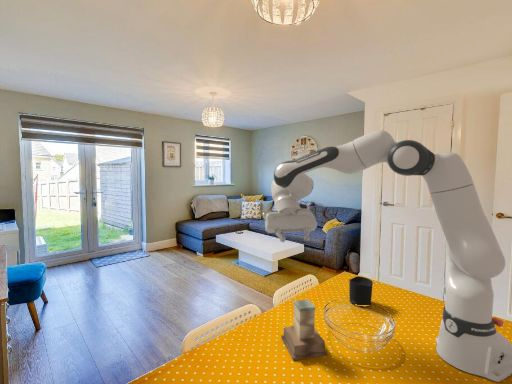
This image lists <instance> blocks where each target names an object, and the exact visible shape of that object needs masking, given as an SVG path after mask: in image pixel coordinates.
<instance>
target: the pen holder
mask: <svg viewBox="0 0 512 384" xmlns="http://www.w3.org/2000/svg"><path fill="white" fill-rule="evenodd" d="M348 280H349V286H348V287H349V289H348V292H349V302H350V303H351V304H352V305H353V304H357V305H370V306H371V304H372V298H373V297H372V296H373V295H372V294H373V284H374V282H373V280H371V279H370V278H368V277H364V276H360V275H359V276H354V277H352V278H349V279H348Z"/></svg>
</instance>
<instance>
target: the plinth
mask: <svg viewBox="0 0 512 384" xmlns="http://www.w3.org/2000/svg"><path fill="white" fill-rule="evenodd" d="M280 337H281V340H282V341H283V344H284V346H285V348H286V349H287V352H288V353H289V356H290V358H291V359H292V361H297V360H303V359H311V358H317V357H324V356H327V355H328V351H327V350H326V349H325V348H326V347H325V346H326V345H325V344H326V341H325V340H324V338H323V337H322V336H321V335H320V333H319V331H317V330H316V328H315V327H314V338H309V339H302V340H299V338H298V337H297V335H296V334H295V332H294V325H290V326H283V335H281V336H280Z"/></svg>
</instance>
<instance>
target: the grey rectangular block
mask: <svg viewBox="0 0 512 384" xmlns="http://www.w3.org/2000/svg"><path fill="white" fill-rule="evenodd" d="M315 315H316V306H315V305H314V304H313V303H312V302H311V301H310V299H300V300H293V326H294V332H295V334H296V335H297V337H298V338H299V340H302V339H309V338H314V328H315V319H316V318H315V317H316V316H315Z"/></svg>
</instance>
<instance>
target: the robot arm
mask: <svg viewBox="0 0 512 384" xmlns="http://www.w3.org/2000/svg"><path fill="white" fill-rule="evenodd" d="M380 163H381V164H382V163H386V164H387V165H388V167H389V169H390V170H391V171H392V172H394V173H396V174H397V175H401V176H404V177H406V176H407V177H409V176H410V177H412V176H421V177H422V178H423V179H424V181H425V182H426V183H425V184H426V186H427V187H428V191H429V194H430V197H431V200H432V204H433V206H434V210H435V214H436V216H437V219H438V221H439V224H440V225H441V229H442V232H443V234H444V237H445V239H446V240H445V276H446V277H445V279H446V283H445V284H446V285H445V286H446V288H445V305H444V307H443V308H442V309H443V310H442V319H441V321H440V327H439V333H438V336H436V337H435V342H436V348H435V350H436V353H437V354H438V356H439V357H440V358H441V359H442V360H444V361H445V362H446V363H447V364H449V365H451V366H452V367H454V368H456V369H459V370H461V371H463V372H466V373H468V374H472V375H474V376H480V377H483V378H485V379H487V380H490V381H492V382H493V381H494V382H497V383H500V382H502V381H503V380H505V379H507V378H509V377H510V376H512V375H511V374H512V343H511V341H510V340H509V339H508V338H506V337H505V336H503V335H502V334H501V333H500V332H499V331H497V329H496V326H497V327H499V328H501V327H503V326H504V321H503V320H502V319H499V318H497V317H495V316H494V317H493V308H494V297H495V296H494V295H495V294H494V290H493V285H492V279H493V278H495V277H497V276H500V274H502V272H504V270H505V267H506V259H505V256H504V253H503V251H502V249H501V246H500V244H499V242H498V240H497V237H496V234H495V232H494V231H493V229H492V226H491V224H490V222H489V220H488V218H487V216H486V214H485V211H484V209H483V206H482V203H481V201H480V198H479V195H478V193H477V189H476V186H475V183H474V180H473V178H472V176H471V173H470V171H469V169H468V167H467V165H466V164H465V161H464V160H463V158H462V156H461V155H459V154H457V153H456V152H450V151H447V152H446V151H445V152H439V153H434V152H432V151H431V150H430V149H428V148H427V147H426V146H424V145H423V144H422V143H421V142H418V141H416V140H412V139H404V140H401V141H395V139H394V138H393V136H392V135H391V134H390V133H389V132H388V131H386V130H383V129H379V130H375V131H371V132H368V133H367V134H364V135H362V136H359V137H357V138H355V139H353V140H351V141H350V142H347V143H344V144H341V145H336V146H335V145H334V146H326V147H323V148H321V149H317V150H315V151H313V152H311V153H308V154H305V155H303V156H301V157H298V158H294V159H292V160H286V161H283V162H281V163H279V164H277V166H276V167H275V169H274V171H273V172H274V173H273V180H272V181H271V184H270V191H271V198H272V200H273V202H274V210H266V211H264V212H263V213H262V219H263V220H264V226H265V229H264V230H265V232H267V234H275V236H276V237H277V238H278V239H279V241H280V243H285V242H286V236H285V235H283V234H282V233H300V232H302V233H303V232H304V234H305V235H304V236H303V240H304V242H309V241H310V239H311V238H310V232H314V231H316V229H317V227H318V222H317V220H316V217H315V215H314V214H313V212H312V211H310V209H311V208H310V205H308V204H305V203H301V202H298V201H299V200H302V199H304V198H306V197H308V196H309V195H310V194H311V193H312V192H313V190H314V179H312V178H311V177H310V176H309V175H308V174H306V173H308V172H311V171H313V170H317V169H320V168H328V169H332V170H335V171H338V172H339V173H343V174H347V175H351V174H356V173H361V172H363V171H364V170H366V169H368V168H370V167H373V166H376V165H377V164H380ZM508 376H509V377H508Z"/></svg>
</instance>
